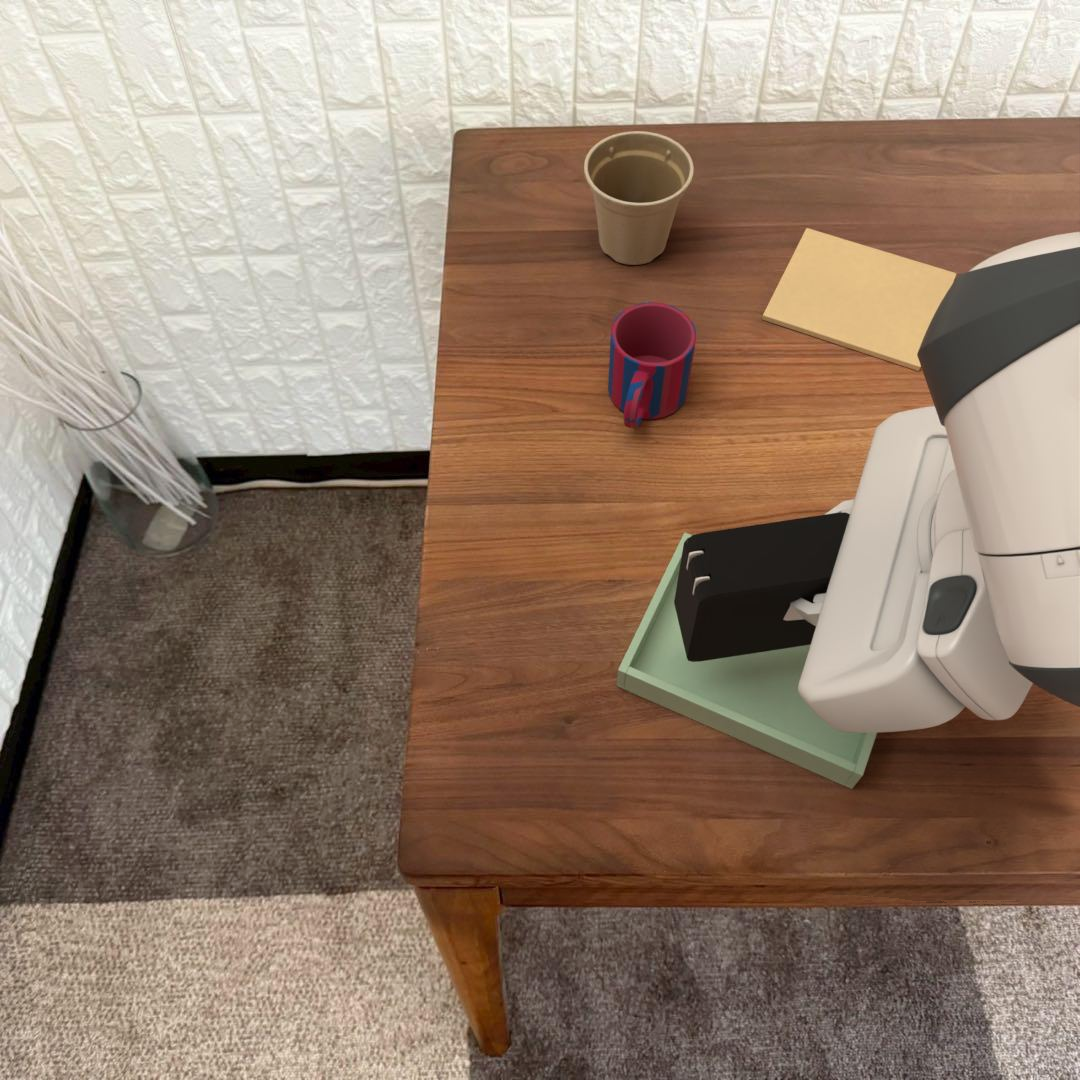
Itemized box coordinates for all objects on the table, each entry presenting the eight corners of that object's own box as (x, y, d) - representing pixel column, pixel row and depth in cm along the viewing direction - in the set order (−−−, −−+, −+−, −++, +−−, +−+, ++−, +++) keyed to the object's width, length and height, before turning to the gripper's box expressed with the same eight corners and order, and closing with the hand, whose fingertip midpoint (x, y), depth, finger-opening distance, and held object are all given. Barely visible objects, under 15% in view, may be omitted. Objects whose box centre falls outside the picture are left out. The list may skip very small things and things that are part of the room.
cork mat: (954, 277, 91) (957, 273, 91) (918, 371, 86) (921, 367, 85) (805, 232, 94) (806, 227, 94) (761, 319, 89) (762, 315, 89)
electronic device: (837, 641, 66) (875, 572, 57) (686, 665, 65) (700, 598, 57) (820, 584, 68) (853, 508, 59) (672, 607, 67) (684, 533, 59)
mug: (698, 372, 86) (708, 316, 80) (656, 460, 82) (663, 408, 76) (625, 348, 88) (629, 292, 82) (580, 434, 83) (581, 380, 77)
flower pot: (701, 261, 93) (713, 185, 85) (608, 292, 91) (611, 216, 84) (656, 197, 97) (664, 119, 90) (566, 225, 96) (566, 148, 88)
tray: (902, 639, 73) (914, 621, 71) (852, 789, 68) (862, 776, 65) (680, 551, 77) (684, 531, 75) (615, 686, 72) (617, 669, 69)
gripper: (1014, 355, 55) (802, 413, 65) (939, 682, 46) (706, 689, 56) (1065, 428, 58) (854, 473, 68) (1005, 750, 48) (771, 744, 59)
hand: (787, 573), depth 62 cm, fingers closed on electronic device, 3 cm apart
